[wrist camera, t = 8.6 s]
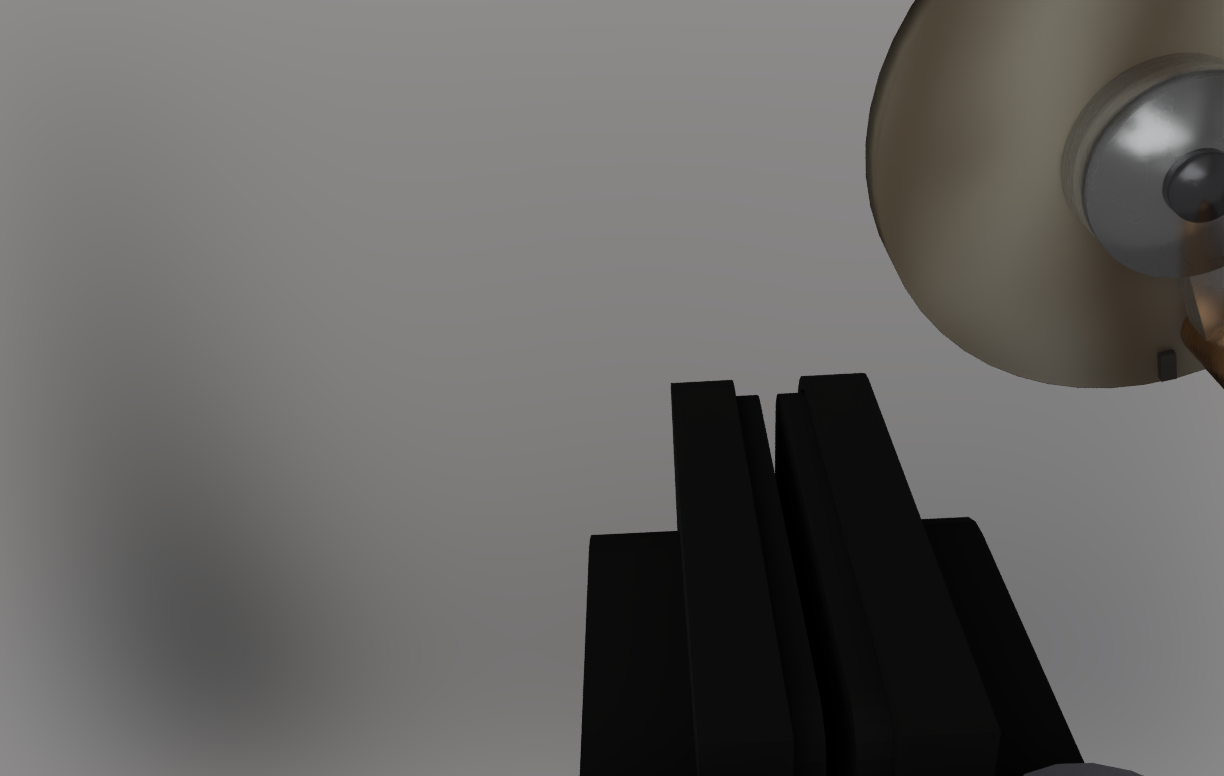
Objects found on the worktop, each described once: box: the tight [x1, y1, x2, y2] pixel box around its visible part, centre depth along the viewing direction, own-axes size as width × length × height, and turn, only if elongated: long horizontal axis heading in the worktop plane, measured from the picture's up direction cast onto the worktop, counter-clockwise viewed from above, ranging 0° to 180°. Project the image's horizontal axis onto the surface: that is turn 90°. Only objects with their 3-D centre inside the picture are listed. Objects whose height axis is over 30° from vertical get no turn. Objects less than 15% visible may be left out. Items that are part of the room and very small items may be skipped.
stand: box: [866, 0, 1224, 388], centre depth 35 cm, size 17×17×2 cm
